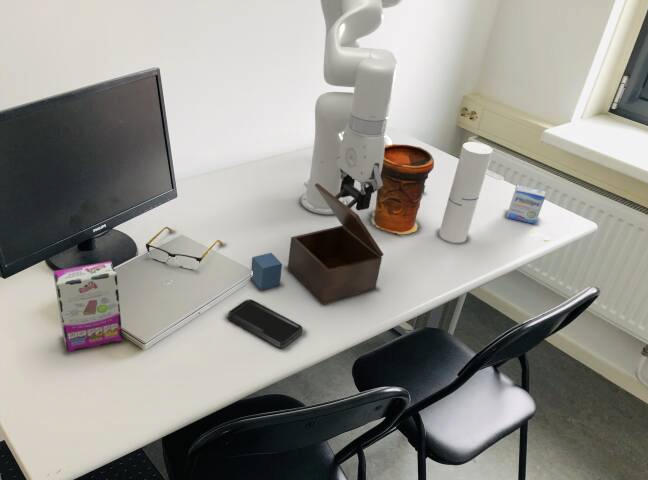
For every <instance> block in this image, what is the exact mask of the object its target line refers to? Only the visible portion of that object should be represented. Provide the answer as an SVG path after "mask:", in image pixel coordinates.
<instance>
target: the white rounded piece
mask: <svg viewBox="0 0 648 480" xmlns="http://www.w3.org/2000/svg"><path fill="white" fill-rule="evenodd" d="M384 135H385V146H386V145H392V144H393V141H392V139H391V138H390V137H389V136H388V135H387V134H384Z"/></svg>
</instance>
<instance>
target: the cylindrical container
mask: <svg viewBox="0 0 648 480" xmlns="http://www.w3.org/2000/svg"><path fill="white" fill-rule="evenodd" d="M493 151H494V150H493V148H492V147H491V146H489V145H487V144H485V143H482V142H476V141H468V142H465V143H463V144H462V147H461V150H460V155H459V158H458V162H457V165H456V169H455V173H454V177H453V179H452V184H451V188H450V192H449V195H448V199H447V203H446V207H445V210H444V213H443V217H442V221H441V224H440V228H439V232H438V235H439V237H440V238H441V239H443V240H444V241H446V242H448V243H453V244H462V243H465V242H466V241H467V238H468V234H469V231H470V228H471V224H472V221H473V217H474V214H475V211H476V208H477V204H478V202H479V198H480V194H481V191H482V188H483V184H484V182H485V179H486V175H487V171H488V168H489V164H490V161H491V159H492V154H493Z"/></svg>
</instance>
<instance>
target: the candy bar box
mask: <svg viewBox="0 0 648 480" xmlns="http://www.w3.org/2000/svg"><path fill="white" fill-rule="evenodd" d="M52 275H53V280H54V286H55V292H56V300H57V306H58V312H59V318H60V324H61V325H60V326H61V330H62V338H63V341H64V345H65V349H66V352H67V353H71V352H72V353H73V352H75V351H80V350H85V349H90V348H94V347H95V348H96V347H99V346H102V345H107V344H108V345H109V344H112V343H117V342H122V341H123V328H122V327H123V326H122V318H121V317H122V316H121V306H120V295H119V293H120V291H119V285H118V274H117V272H116V269H115V268H114V266H113V263H112V261H104V262H99V263H93V264H85V265H81V266H76V267H75V266H74V267H70V268H65V269H59V270H54V271H53V272H52Z"/></svg>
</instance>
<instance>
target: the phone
mask: <svg viewBox="0 0 648 480" xmlns="http://www.w3.org/2000/svg"><path fill="white" fill-rule="evenodd" d="M227 315H228V316H227V319H228V320H229V321H231V322H233V323H234V324H236V325H237V326H240V327H242V328H243V329H245V330H247V331H249V332H251V333H252V334H253V335H256V336H257V337H260V338H262V339H263V340H264V341H267V342H268V343H270V344H271V345H274V346H275V347H277V348H281V349H283V348H285V347H287V346H288V345H290V344H291V343H292V342H293V341H294V340H296V339H297V338H298V337H299V336H301V335H302V333H303V326H302V325H301V324H299V323H297V322H295V321H293V320H291V319H289V318H287V317H286V316H284V315H282V314H280V313H278V312H276V311H274V310H272V309H270V308H269V307H267V306H265V305H263V304H261V303H259V302H257V301H255V300H253V299H246V300H244V301H243V302H241V303H240V304H238V305H237V306H235V307H234V308H232V309H231V310H229V311H228V314H227Z"/></svg>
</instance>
